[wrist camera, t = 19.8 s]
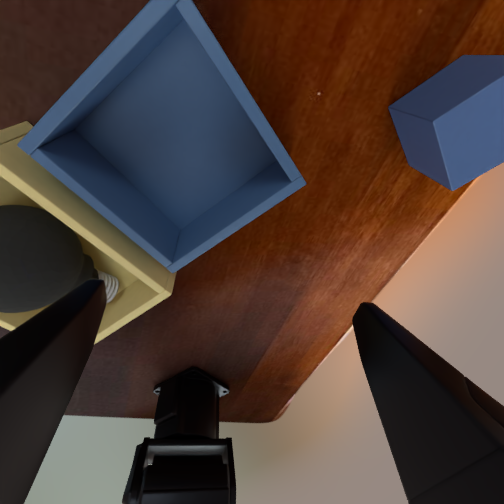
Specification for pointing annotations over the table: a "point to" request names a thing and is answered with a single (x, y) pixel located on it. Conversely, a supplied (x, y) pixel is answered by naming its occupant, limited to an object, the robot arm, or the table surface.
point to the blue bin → (165, 138)
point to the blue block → (455, 121)
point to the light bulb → (41, 260)
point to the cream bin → (82, 236)
